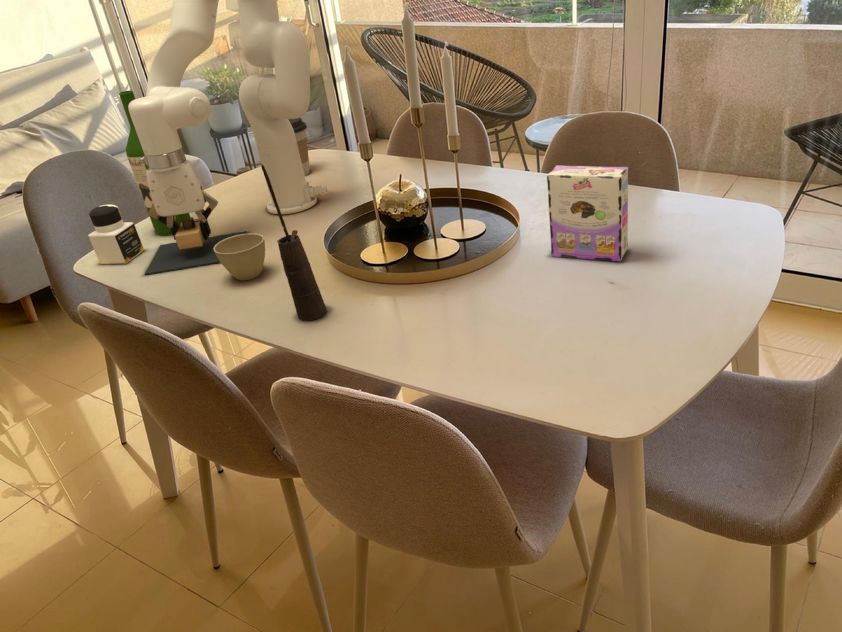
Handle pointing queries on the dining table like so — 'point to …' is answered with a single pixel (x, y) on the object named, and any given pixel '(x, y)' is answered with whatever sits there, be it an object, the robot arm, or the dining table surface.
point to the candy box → (588, 212)
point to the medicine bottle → (113, 236)
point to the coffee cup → (301, 142)
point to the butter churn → (298, 271)
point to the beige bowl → (242, 255)
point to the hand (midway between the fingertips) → (194, 238)
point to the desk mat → (186, 256)
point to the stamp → (189, 234)
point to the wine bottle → (142, 167)
